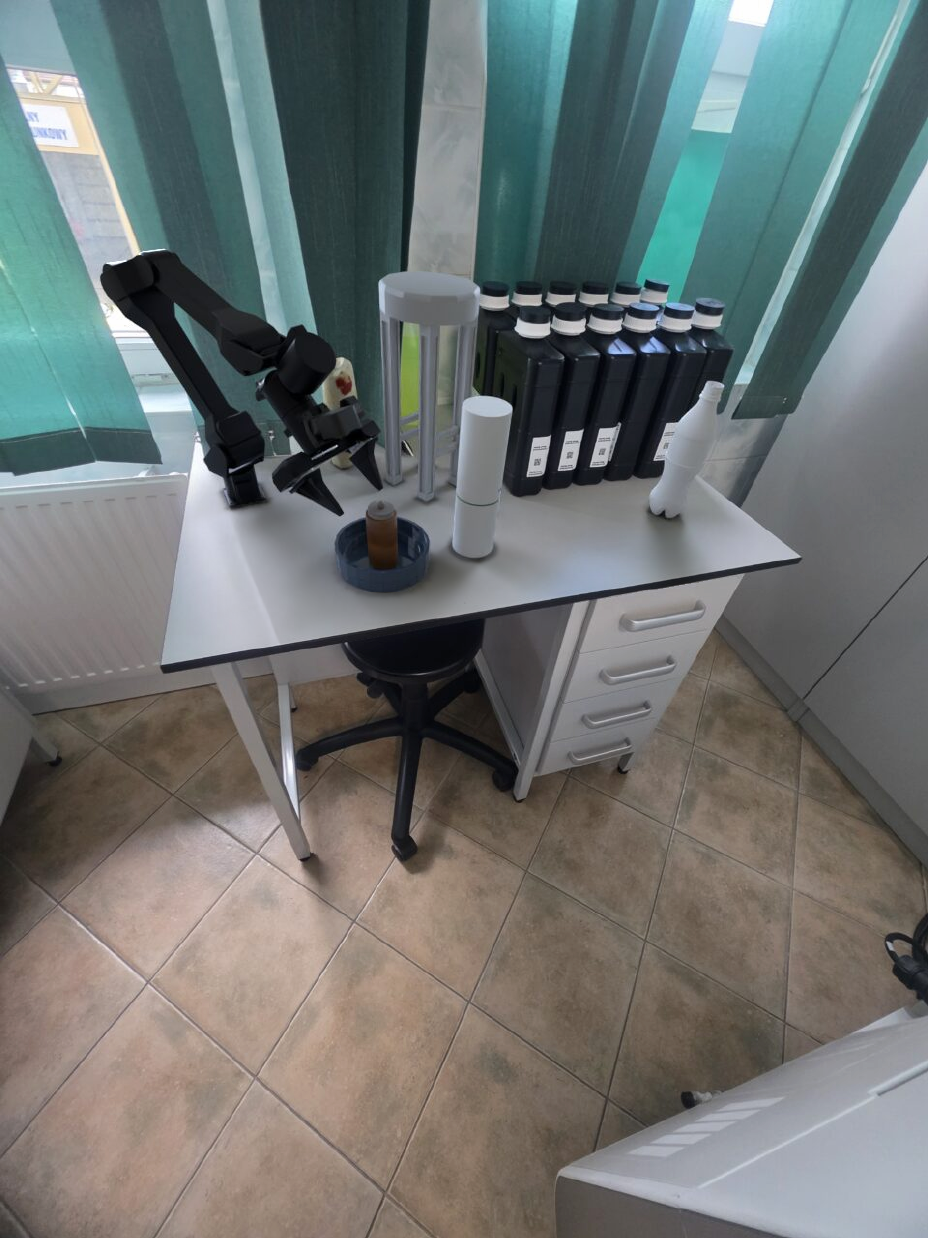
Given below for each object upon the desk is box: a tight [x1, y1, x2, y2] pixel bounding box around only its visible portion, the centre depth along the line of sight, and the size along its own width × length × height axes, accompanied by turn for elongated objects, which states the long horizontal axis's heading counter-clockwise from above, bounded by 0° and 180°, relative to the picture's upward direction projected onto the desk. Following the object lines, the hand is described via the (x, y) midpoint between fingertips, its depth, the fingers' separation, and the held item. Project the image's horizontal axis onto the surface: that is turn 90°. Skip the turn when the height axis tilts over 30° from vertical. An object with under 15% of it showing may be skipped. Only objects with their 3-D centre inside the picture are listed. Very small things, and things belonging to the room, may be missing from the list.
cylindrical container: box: [452, 395, 513, 559], centre depth 81 cm, size 7×7×25 cm
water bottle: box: [648, 380, 725, 519], centre depth 94 cm, size 7×7×25 cm
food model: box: [321, 356, 358, 469], centre depth 100 cm, size 10×7×20 cm
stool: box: [378, 270, 481, 502], centre depth 92 cm, size 16×16×35 cm
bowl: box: [333, 516, 431, 593], centre depth 83 cm, size 15×15×4 cm
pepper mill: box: [365, 499, 398, 570], centre depth 80 cm, size 5×5×12 cm
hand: (362, 501), depth 78 cm, fingers open, 9 cm apart
